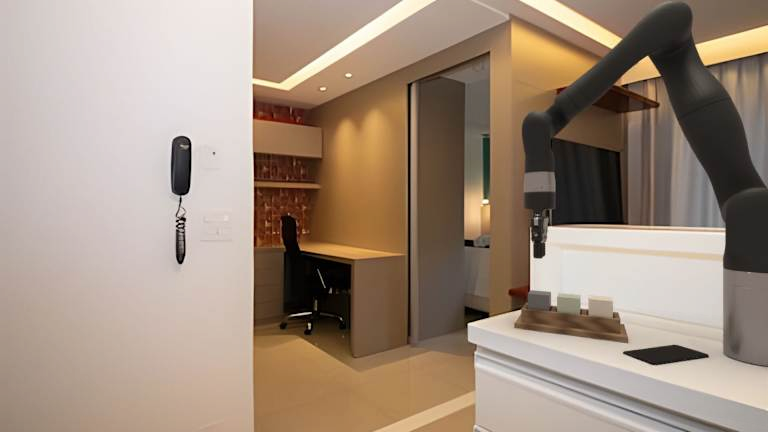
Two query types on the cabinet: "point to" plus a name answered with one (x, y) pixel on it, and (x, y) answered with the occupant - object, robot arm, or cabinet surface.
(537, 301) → the key charcoal
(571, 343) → the cabinet surface
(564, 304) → the key sage
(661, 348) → the smartphone
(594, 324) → the wooden tray
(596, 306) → the beige cube
